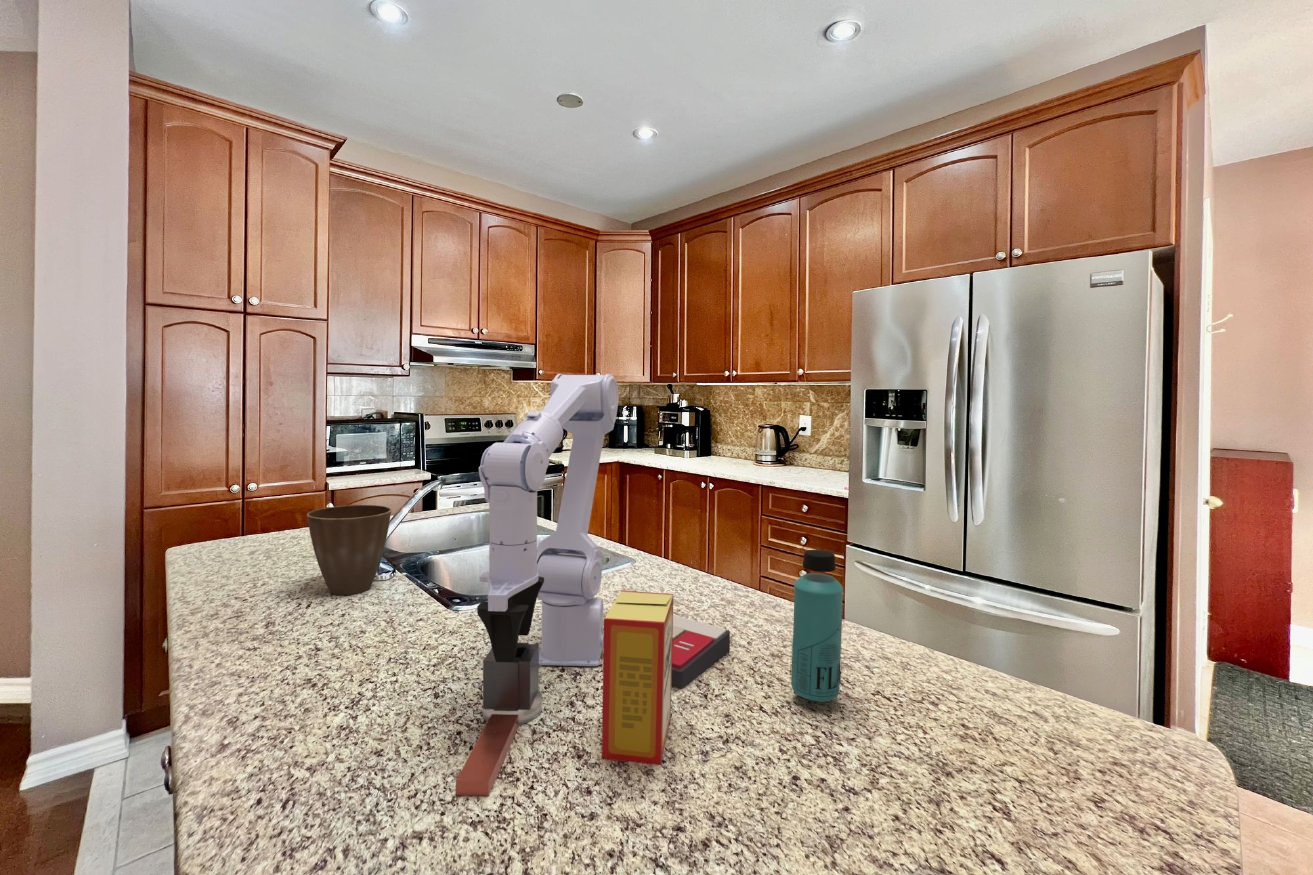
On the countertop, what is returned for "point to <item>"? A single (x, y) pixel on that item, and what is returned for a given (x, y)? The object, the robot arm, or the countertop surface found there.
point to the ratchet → (492, 748)
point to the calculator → (695, 649)
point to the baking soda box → (637, 677)
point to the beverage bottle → (817, 630)
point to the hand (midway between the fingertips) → (513, 647)
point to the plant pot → (349, 545)
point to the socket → (511, 680)
